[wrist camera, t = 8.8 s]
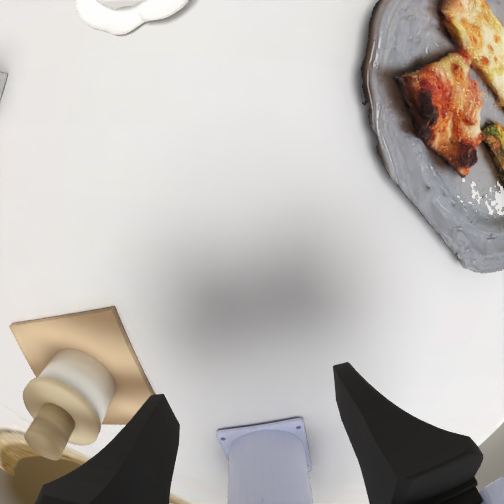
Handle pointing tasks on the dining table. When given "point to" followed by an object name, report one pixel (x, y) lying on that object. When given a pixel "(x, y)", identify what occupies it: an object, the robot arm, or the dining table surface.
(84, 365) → the jar
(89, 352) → the square wooden coaster
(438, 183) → the food plate
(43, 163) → the dining table surface
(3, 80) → the skincare box
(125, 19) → the rose
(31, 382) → the lid
